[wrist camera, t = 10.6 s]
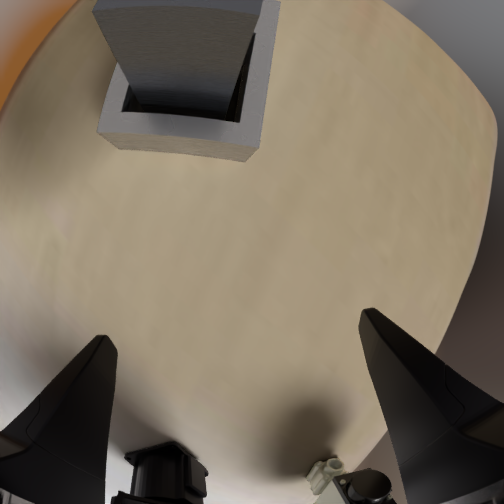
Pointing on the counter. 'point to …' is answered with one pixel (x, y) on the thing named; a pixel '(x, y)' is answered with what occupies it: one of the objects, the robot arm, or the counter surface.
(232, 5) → the peg
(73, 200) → the counter surface
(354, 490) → the pneumatic valve
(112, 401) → the robot arm
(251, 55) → the block with rectangular hole
